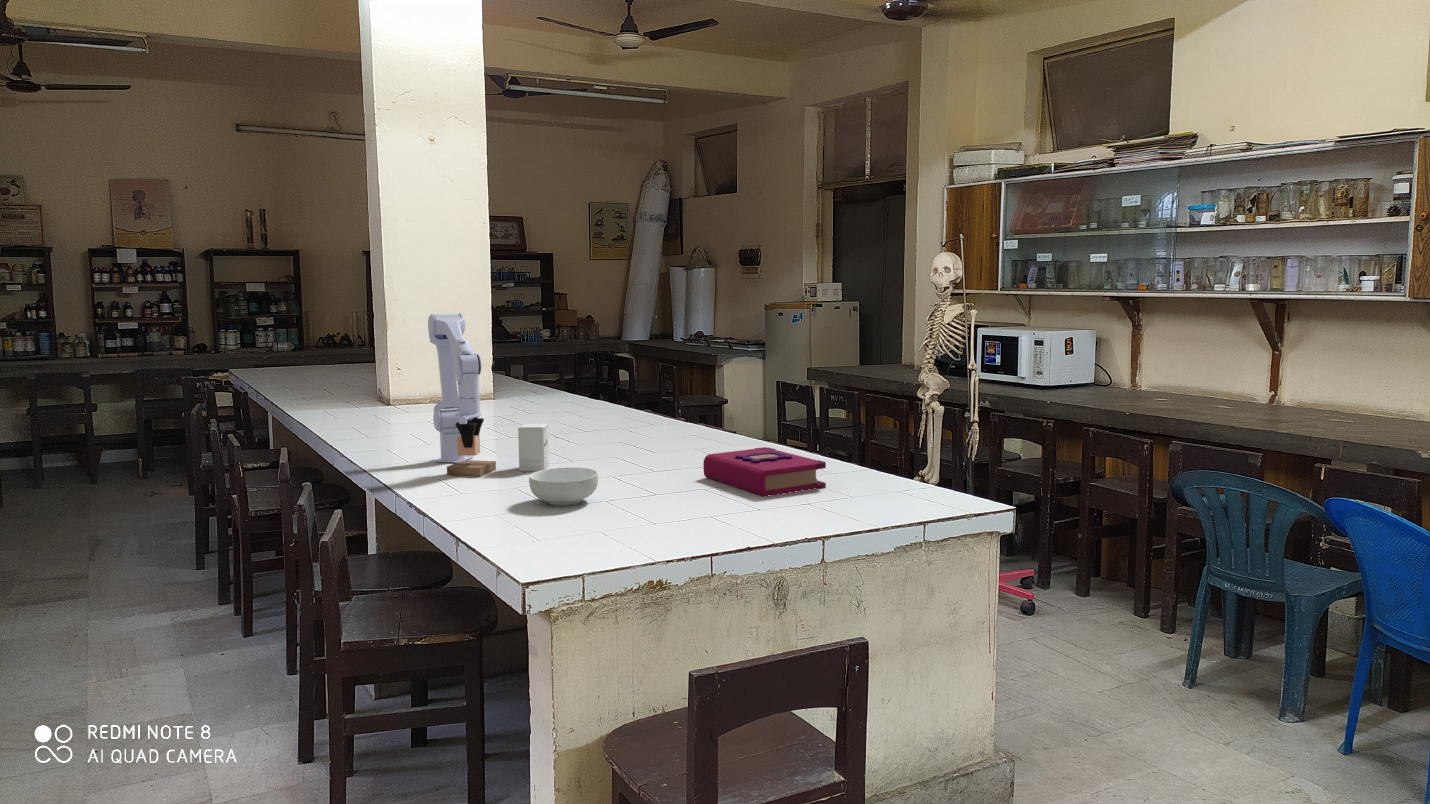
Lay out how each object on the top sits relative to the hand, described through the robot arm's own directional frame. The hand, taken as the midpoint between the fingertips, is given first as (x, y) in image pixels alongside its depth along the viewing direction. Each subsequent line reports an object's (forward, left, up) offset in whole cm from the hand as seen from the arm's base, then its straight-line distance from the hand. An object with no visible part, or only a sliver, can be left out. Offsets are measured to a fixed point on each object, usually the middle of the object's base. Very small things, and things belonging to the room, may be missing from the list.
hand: (470, 445), depth 275 cm
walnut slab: (0, 0, -8) cm, 8 cm away
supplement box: (-9, +15, -8) cm, 19 cm away
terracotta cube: (0, -1, -2) cm, 2 cm away
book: (-2, +83, -8) cm, 84 cm away
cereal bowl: (+29, +39, -8) cm, 49 cm away
